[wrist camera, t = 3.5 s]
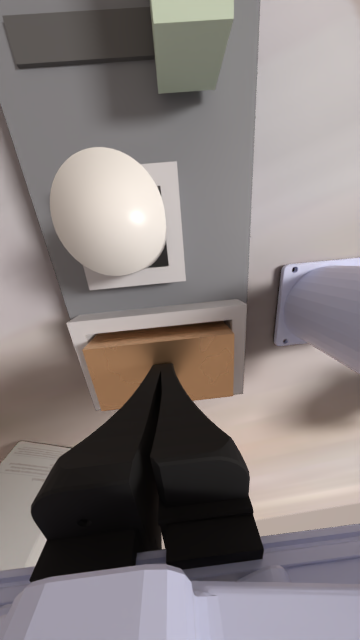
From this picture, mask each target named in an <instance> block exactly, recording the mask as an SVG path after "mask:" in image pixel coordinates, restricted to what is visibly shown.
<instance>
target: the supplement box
mask: <svg viewBox="0 0 360 640" xmlns="http://www.w3.org/2000/svg"><path fill="white" fill-rule="evenodd" d="M70 449H72V448H66V447H59V446H53V445H47V444H39V443H32V442H26V441H20V442H18V443H17V444H16V446H15V447H14V448H13V449H12V450H11V452H10V453H9V454H8V455H7V456H6V457H5V459H4V460H3V461H2V462H1V463H0V571H2V570H10V569H18V568H25V567H33V566H36V563H37V561H38V559H39V557H40V554H41V552H42V550H43V548H44V545H45V543H46V541H47V539H46V538H45V536H44V535H43V533H42V532H41V531H40V529H39V528H38V526H37V525H36V523H35V522H34V520H33V518H32V516H31V505H32V503H33V501H34V499H35V497H36V496H37V494H38V492H39V490H40V489H41V487H42V485H43V483H44V481H45V480H46V478H47V476H48V474H49V472H50V471H51V469H52V467H53V466H54V464H55V463H56V461H57V459H58V458H59V457H60V456H61V455H63V454H64V453H66V452H67V451H69V450H70Z"/></svg>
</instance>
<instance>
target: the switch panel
mask: <svg viewBox="0 0 360 640" xmlns="http://www.w3.org/2000/svg"><path fill="white" fill-rule="evenodd" d="M259 18H260V0H234V19H233V23H232V27H231V31H230V35H229V38H228V42H227V46H226V50H225V54H224V57H223V61H222V65H221V69H220V73H219V76H218V80H217V84H216V88H215V90H204V91H190V92H176V93H162V94H158V84H157V74H156V63H155V53H154V42H153V32H152V21H151V10H150V0H0V104H1V107H2V110H3V113H4V116H5V120H6V123H7V126H8V129H9V132H10V135H11V138H12V141H13V144H14V147H15V150H16V153H17V157H18V160H19V163H20V166H21V169H22V172H23V175H24V178H25V181H26V184H27V187H28V190H29V194H30V197H31V200H32V203H33V206H34V209H35V212H36V215H37V218H38V221H39V224H40V227H41V231H42V234H43V237H44V240H45V243H46V246H47V249H48V252H49V255H50V258H51V261H52V264H53V268H54V271H55V274H56V277H57V280H58V283H59V286H60V289H61V292H62V295H63V298H64V301H65V305H66V308H67V311H68V314H69V317H70V321H69V322H67V323H66V324H67V327H68V330H69V333H70V336H71V339H72V342H73V344H74V347H75V350H76V353H77V356H78V359H79V362H80V365H81V368H82V371H83V374H84V377H85V380H86V383H87V386H88V389H89V392H90V395H91V398H92V401H93V404H94V407H95V410H101V408H100V404H99V401H98V398H97V395H96V392H95V389H94V386H93V383H92V380H91V376H90V373H89V370H88V367H87V364H86V361H85V358H84V355H83V351H82V350H83V348H84V347H85V346H86V345H87V344H88V343H89V342H90V341H91V340H92V339H93V338H94V337H95V336H96V335H97V334H98V333H107V332H117V331H126V330H136V329H146V328H155V327H165V326H174V325H184V324H194V323H203V322H213V321H224V323H225V324H226V325H227V326H228V327H229V328H230V329H231V330H232V332H233V333H234V384H233V395H236V394H243V383H244V360H245V338H246V315H247V291H248V268H249V246H250V223H251V200H252V177H253V155H254V132H255V109H256V86H257V64H258V41H259ZM93 147H106V148H112V149H115V150H118V151H121V152H123V153H125V154H127V155H129V156H130V157H132V158H133V159H135V160H136V161H137V162H138V163H139V164H140V165H142V166H143V167H144V169H145V170H146V171H147V172H148V173H149V175H150V176H151V177H152V179H153V180H154V182H155V184H156V186H157V188H158V190H159V192H160V195H161V197H162V201H163V205H164V210H165V218H166V228H167V236H166V243H165V246H164V249H163V251H162V253H161V255H160V256H159V258H158V259H157V260H156V261H155V262H154V263H153V264H152V265H151V266H149V267H147V268H145V269H143V270H140V271H137V272H134V273H131V274H128V275H122V276H111V275H104V274H100V273H98V272H95V271H93V270H91V269H89V268H87V267H85V266H84V265H82V264H81V263H80V262H78V261H77V260H76V259H75V258H74V257H73V256H72V255H71V254H70V253H69V252H68V251H67V249H66V248H65V247H64V245H63V244H62V242H61V241H60V239H59V237H58V235H57V233H56V231H55V228H54V225H53V222H52V217H51V212H50V192H51V187H52V183H53V180H54V178H55V175H56V173H57V171H58V170H59V168H60V167H61V165H62V164H63V163H64V162H65V161H66V160H67V159H68V158H69V157H71V156H72V155H73V154H75V153H77V152H79V151H81V150H84V149H87V148H93Z"/></svg>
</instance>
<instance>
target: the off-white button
mask: <svg viewBox="0 0 360 640" xmlns="http://www.w3.org/2000/svg"><path fill="white" fill-rule="evenodd" d="M50 212H51V217H52V222H53V225H54V228H55V231H56V233H57V235H58V237H59V239H60V241H61V242H62V244H63V245H64V247H65V248H66V249H67V251H68V252H69V253H70V254H71V255H72V256H73V257H74V258H75V259H76V260H77V261H78V262H80V263H81V264H82V265H84V266H85V267H87V268H89V269H91V270H93V271H95V272H98V273H100V274H104V275H111V276H122V275H128V274H131V273H134V272H137V271H140V270H143V269H145V268H147V267H149V266H151V265H152V264H153V263H154V262H155V261H156V260H157V259H158V258H159V256H160V255H161V253H162V251H163V249H164V246H165V243H166V236H167V228H166V218H165V210H164V205H163V201H162V197H161V195H160V192H159V190H158V188H157V186H156V184H155V182H154V180H153V179H152V177H151V176H150V175H149V173H148V172H147V171H146V170H145V169H144V167H143V166H142V165H140V164H139V163H138V162H137V161H136V160H135V159H133V158H132V157H130V156H129V155H127V154H125V153H123V152H121V151H118V150H115V149H112V148H106V147H93V148H87V149H84V150H81V151H79V152H77V153H75V154H73V155H72V156H71V157H69V158H68V159H67V160H66V161H65V162H64V163H63V164H62V165H61V167H60V168H59V170H58V171H57V173H56V175H55V178H54V180H53V183H52V187H51V192H50Z"/></svg>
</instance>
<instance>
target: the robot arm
mask: <svg viewBox="0 0 360 640" xmlns="http://www.w3.org/2000/svg"><path fill="white" fill-rule="evenodd" d="M293 267H294V268H295V270H294V272H292V269H293ZM285 339H286V340H285ZM283 340H285V341H284V342H283ZM274 343H275V344H276V345H277V346H286V345H295V344H304V343H309V344H310V345H312V346H314V347H315V348H317V349H319V350H320V351H322V352H324V353H325V354H327V355H329V356H330V357H332V358H334V359H335V360H337V361H339V362H340V363H342V364H344V365H345V366H347V367H349V368H350V369H352V370H354V371H355V372H357V373H359V374H360V257H357V258H346V259H336V260H326V261H315V262H305V263H295V264H287V265H284V266H283V268H282V270H281V278H280V288H279V297H278V306H277V316H276V325H275V335H274ZM249 481H250V477H249V471H248V468H247V466H246V463H245V461H244V459H243V457H242V455H241V453H240V452H239V450H238V448H237V446H236V445H235V443H234V441H233V440H232V438H231V437H230V436H228V435H227V434H226V433H225V432H223V431H222V430H221V429H220V428H218V427H217V426H216V425H215V424H214V423H213V422H212V421H211V420H210V419H208V418H207V416H206V415H205V414H204V413H203V412H202V411H201V410H200V409H199V408H198V407H197V406H196V405H195V403H194V402H193V401H192V400H191V398H190V397H189V396H188V394H187V393H186V391H185V390H184V388H183V387H182V385H181V383H180V381H179V379H178V377H177V375H176V373H175V370H174V366H173V364H172V363H166V364H156V365H153V366H152V367H151V369H150V370H149V372H148V374H147V375H146V377H145V378H144V380H143V381H142V383H141V384H140V386H139V387H138V388H137V390H136V391H135V392H134V393H133V395H132V396H131V397H130V398H129V399H128V401H127V402H126V403H125V404H124V405H123V406H122V407H121V408H120V409H119V410H118V411H117V412H116V413H115V414H114V415H113V416H112V417H111V418H110V419H109V420H108V421H107V422H105V423H104V424H103V425H102V426H101V427H100V428H98V429H97V430H96V431H95V432H93V433H92V434H91V435H90V436H88V437H87V438H86V439H84V440H83V441H82V442H80V443H79V444H77V445H76V446H74V447H73V448H72V449H70V450H69V451H67V452H66V453H64V454H63V455H61V456H60V457H59V458H58V459H57V461H56V463H55V464H54V466H53V467H52V469H51V471H50V472H49V474H48V476H47V478H46V480H45V481H44V483H43V485H42V487H41V489H40V490H39V492H38V494H37V496H36V497H35V499H34V501H33V503H32V505H31V516H32V518H33V520H34V522H35V523H36V525H37V526H38V528H39V529H40V531H41V532H42V533H43V535H44V536H45V538H46V539H47V541H46V543H45V545H44V548H43V550H42V552H41V554H40V557H39V559H38V561H37V563H36V566H33V567H25V568H18V569H10V570H2V571H0V640H360V524H353V525H345V526H338V527H330V528H323V529H316V530H307V531H301V532H292V533H284V534H277V535H269V536H262V537H260V535H259V532H258V529H257V526H256V523H255V520H254V517H253V507H252V504H251V501H250V498H249V495H248V494H249ZM161 532H162V536H163V540H164V544H165V549H162V547H161Z"/></svg>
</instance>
